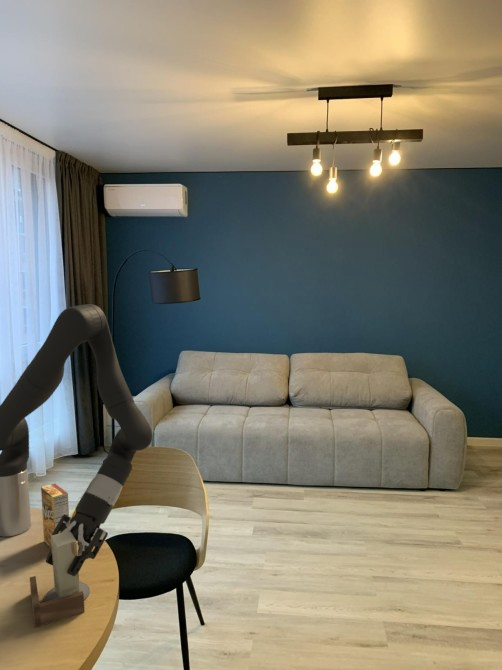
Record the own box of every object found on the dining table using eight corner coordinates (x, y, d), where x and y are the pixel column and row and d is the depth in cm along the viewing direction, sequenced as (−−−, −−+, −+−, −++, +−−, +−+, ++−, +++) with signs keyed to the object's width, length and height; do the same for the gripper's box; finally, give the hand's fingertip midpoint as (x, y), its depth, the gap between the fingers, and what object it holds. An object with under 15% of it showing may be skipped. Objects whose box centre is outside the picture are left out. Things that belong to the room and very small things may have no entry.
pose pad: (48, 585, 112) (48, 584, 112) (92, 579, 114) (92, 578, 114) (39, 613, 103) (39, 611, 103) (86, 606, 105) (86, 604, 105)
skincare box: (80, 594, 107) (77, 541, 105) (60, 601, 104) (56, 547, 103) (73, 579, 112) (70, 529, 111) (53, 586, 110) (50, 534, 108)
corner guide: (30, 594, 109) (29, 577, 109) (76, 581, 114) (75, 565, 113) (34, 627, 98) (33, 608, 98) (84, 611, 103) (83, 594, 102)
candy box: (43, 541, 132) (39, 487, 130) (58, 535, 135) (55, 482, 133) (55, 554, 125) (52, 497, 124) (72, 547, 128) (68, 492, 127)
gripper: (70, 484, 116) (28, 554, 108) (110, 498, 108) (69, 574, 100) (89, 497, 121) (51, 564, 113) (129, 511, 113) (91, 584, 105)
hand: (59, 569), depth 106 cm, fingers closed on skincare box, 7 cm apart
